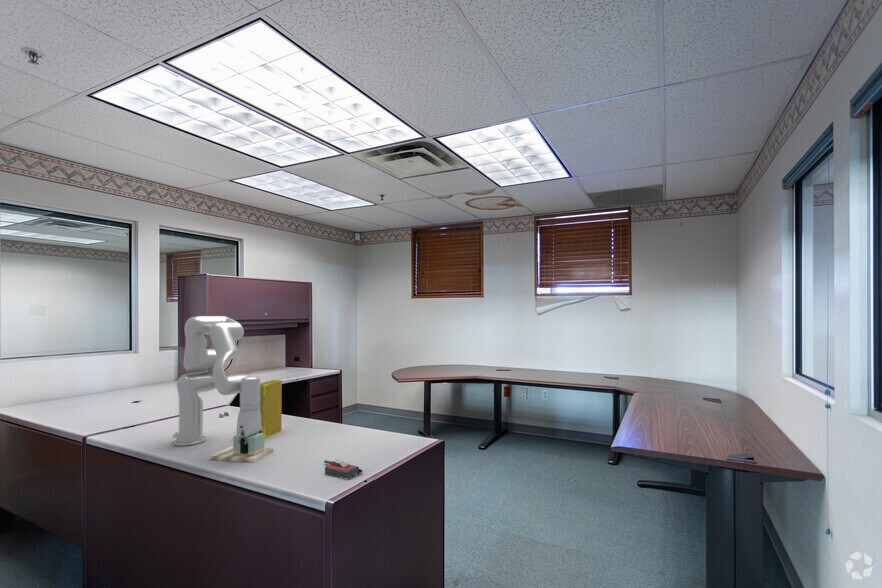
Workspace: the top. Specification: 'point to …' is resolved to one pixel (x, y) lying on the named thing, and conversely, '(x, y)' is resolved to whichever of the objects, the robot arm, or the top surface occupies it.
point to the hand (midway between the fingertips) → (249, 450)
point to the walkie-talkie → (341, 469)
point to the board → (239, 455)
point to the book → (271, 406)
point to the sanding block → (250, 444)
